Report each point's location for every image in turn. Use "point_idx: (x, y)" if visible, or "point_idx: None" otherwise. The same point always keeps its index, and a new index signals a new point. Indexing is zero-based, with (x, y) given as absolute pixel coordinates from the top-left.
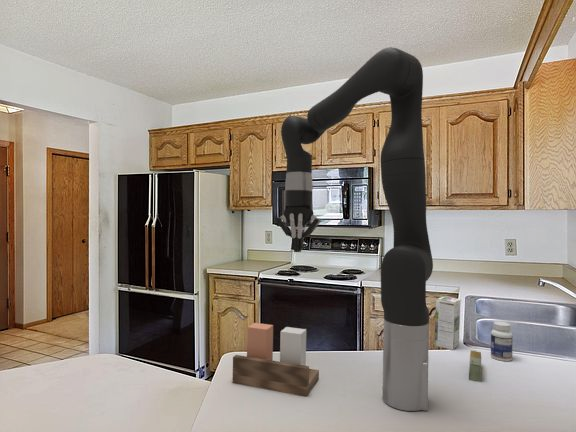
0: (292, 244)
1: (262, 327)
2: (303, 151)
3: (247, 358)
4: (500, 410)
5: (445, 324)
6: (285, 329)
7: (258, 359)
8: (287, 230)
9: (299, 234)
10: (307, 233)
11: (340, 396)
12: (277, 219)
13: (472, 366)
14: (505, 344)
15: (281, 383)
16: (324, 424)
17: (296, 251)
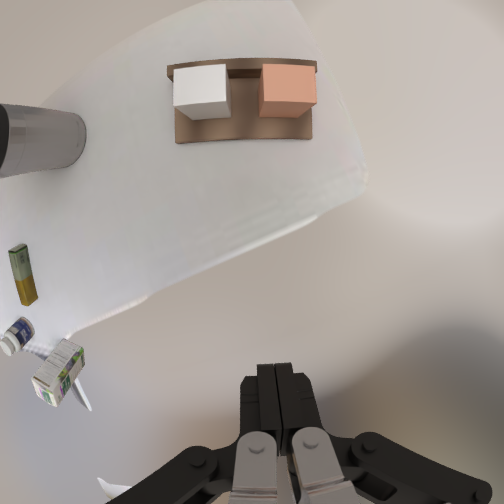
0: (311, 396)
1: (280, 74)
2: None
3: (287, 61)
4: (4, 179)
5: (56, 362)
6: (220, 81)
7: (266, 63)
8: (378, 465)
9: (257, 458)
10: (179, 465)
11: (133, 103)
12: (485, 493)
13: (14, 250)
14: (11, 326)
15: None
16: (140, 35)
17: (274, 365)
